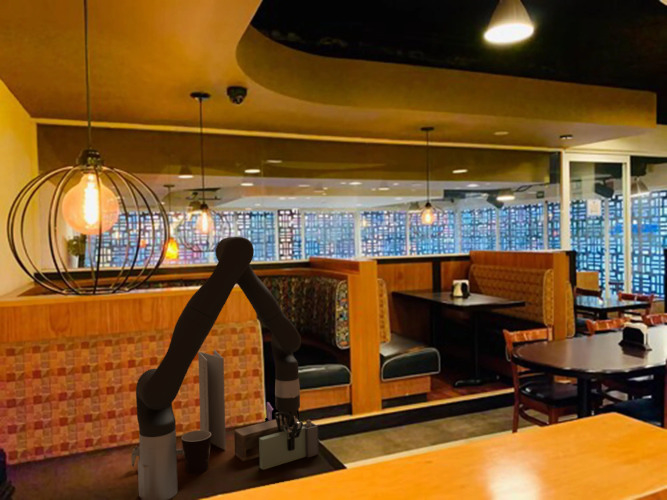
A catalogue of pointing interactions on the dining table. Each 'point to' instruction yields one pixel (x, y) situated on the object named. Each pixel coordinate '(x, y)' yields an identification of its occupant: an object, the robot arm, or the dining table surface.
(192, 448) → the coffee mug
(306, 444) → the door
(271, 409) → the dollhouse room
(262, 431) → the cabinet
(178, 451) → the caliper
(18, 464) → the dining table surface
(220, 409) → the brochure
